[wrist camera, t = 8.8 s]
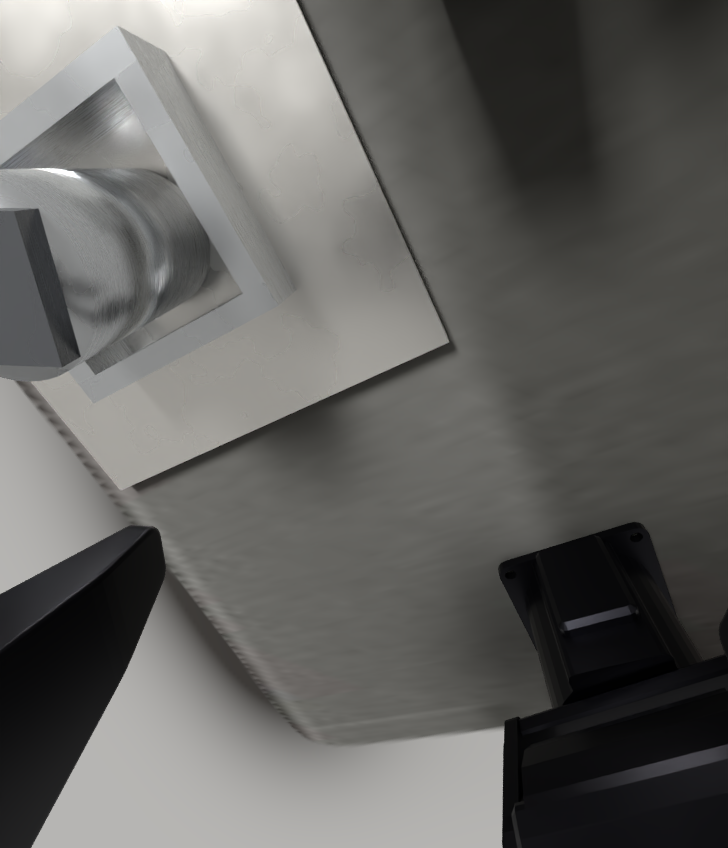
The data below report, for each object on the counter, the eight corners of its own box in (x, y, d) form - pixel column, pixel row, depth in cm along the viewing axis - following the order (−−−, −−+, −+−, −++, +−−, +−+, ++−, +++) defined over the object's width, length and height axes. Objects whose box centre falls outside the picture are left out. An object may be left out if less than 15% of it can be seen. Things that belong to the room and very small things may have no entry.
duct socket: (448, 337, 18) (454, 365, 15) (127, 483, 22) (85, 526, 20) (202, -211, 12) (139, -330, 10) (-161, 128, 17) (-279, 116, 14)
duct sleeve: (199, 168, 16) (36, 169, 9) (218, 309, 18) (99, 397, 11) (64, 167, 16) (-192, 168, 9) (99, 306, 18) (-87, 389, 11)
